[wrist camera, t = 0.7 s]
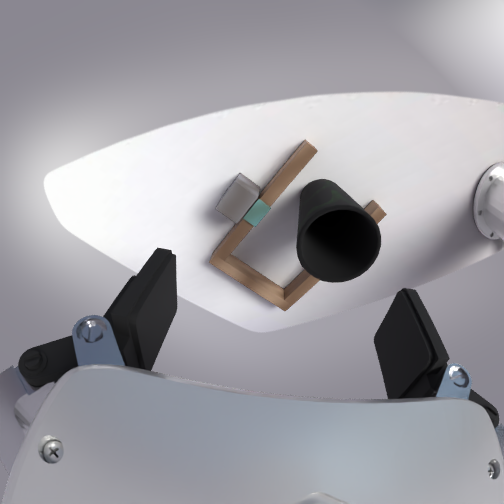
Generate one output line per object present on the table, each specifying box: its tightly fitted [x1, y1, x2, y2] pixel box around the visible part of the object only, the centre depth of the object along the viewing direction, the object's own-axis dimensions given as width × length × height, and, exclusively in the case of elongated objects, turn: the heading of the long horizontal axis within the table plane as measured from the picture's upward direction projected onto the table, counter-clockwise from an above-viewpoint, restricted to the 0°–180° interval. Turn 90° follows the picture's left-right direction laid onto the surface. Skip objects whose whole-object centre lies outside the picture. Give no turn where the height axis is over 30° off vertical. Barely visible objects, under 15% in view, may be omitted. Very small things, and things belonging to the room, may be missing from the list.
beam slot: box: [209, 140, 386, 311], centre depth 34 cm, size 17×20×4 cm
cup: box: [296, 179, 381, 283], centre depth 29 cm, size 8×8×12 cm
